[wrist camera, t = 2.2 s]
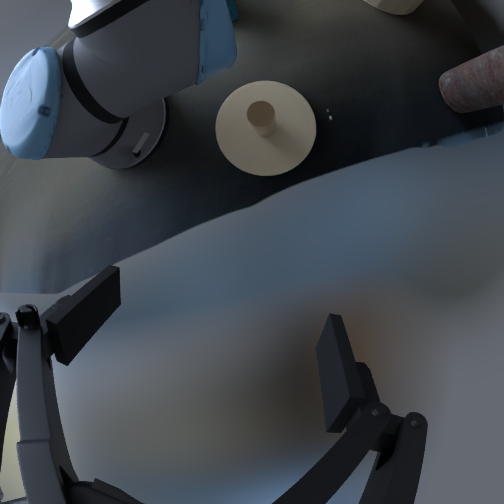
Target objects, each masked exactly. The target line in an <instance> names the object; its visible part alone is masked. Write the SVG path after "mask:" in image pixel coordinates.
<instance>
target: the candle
mask: <svg viewBox="0 0 504 504" xmlns="http://www.w3.org/2000/svg"><path fill="white" fill-rule="evenodd" d="M439 87H440V91H441V94H442V96H443V99H444V101H445V102H446V104H447V105H449V107H451V108H452V109H453V110H454V111H456V112H459V113H467V112H472V111H476V110H480V109H485V108H489V107H493V106H498V105H502V104H504V45H503V46H500V47H498V48H496V49H494V50H491V51H489V52H487V53H485V54H482V55H480V56H478V57H476V58H474V59H472V60H469V61H467V62H465V63H463V64H461V65H459V66H457V67H455V68H452V69H450V70H449V71H447V72H445V73H444V74H442V75H441V77H440V79H439Z"/></svg>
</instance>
